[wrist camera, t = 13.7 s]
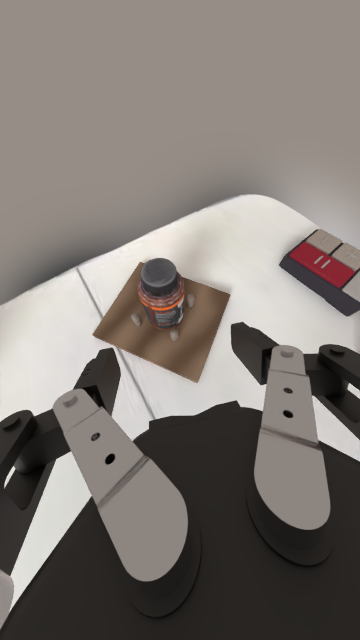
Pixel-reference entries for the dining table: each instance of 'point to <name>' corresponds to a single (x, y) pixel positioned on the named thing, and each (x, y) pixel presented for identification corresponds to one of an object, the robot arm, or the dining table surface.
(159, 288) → the supplement bottle
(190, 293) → the pin tray
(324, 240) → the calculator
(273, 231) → the dining table surface
